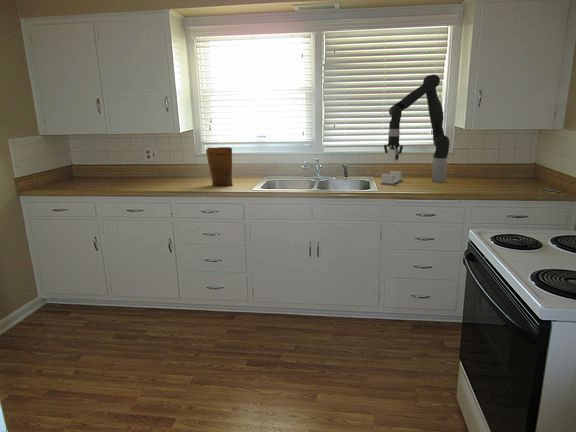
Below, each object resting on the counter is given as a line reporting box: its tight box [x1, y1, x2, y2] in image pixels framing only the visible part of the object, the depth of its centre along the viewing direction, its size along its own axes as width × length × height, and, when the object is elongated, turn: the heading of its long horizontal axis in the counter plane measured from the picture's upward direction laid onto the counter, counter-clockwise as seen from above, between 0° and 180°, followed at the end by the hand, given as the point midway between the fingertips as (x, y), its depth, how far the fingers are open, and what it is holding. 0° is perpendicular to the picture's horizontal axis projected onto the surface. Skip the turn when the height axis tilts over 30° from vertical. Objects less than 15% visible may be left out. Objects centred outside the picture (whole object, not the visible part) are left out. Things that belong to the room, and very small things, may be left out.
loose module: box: [386, 148, 400, 164], centre depth 305 cm, size 5×9×9 cm, turn 146°
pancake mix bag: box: [205, 146, 234, 187], centre depth 308 cm, size 7×19×28 cm, turn 75°
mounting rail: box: [380, 170, 404, 187], centre depth 309 cm, size 9×20×7 cm, turn 146°
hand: (392, 159), depth 306 cm, fingers closed on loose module, 5 cm apart
